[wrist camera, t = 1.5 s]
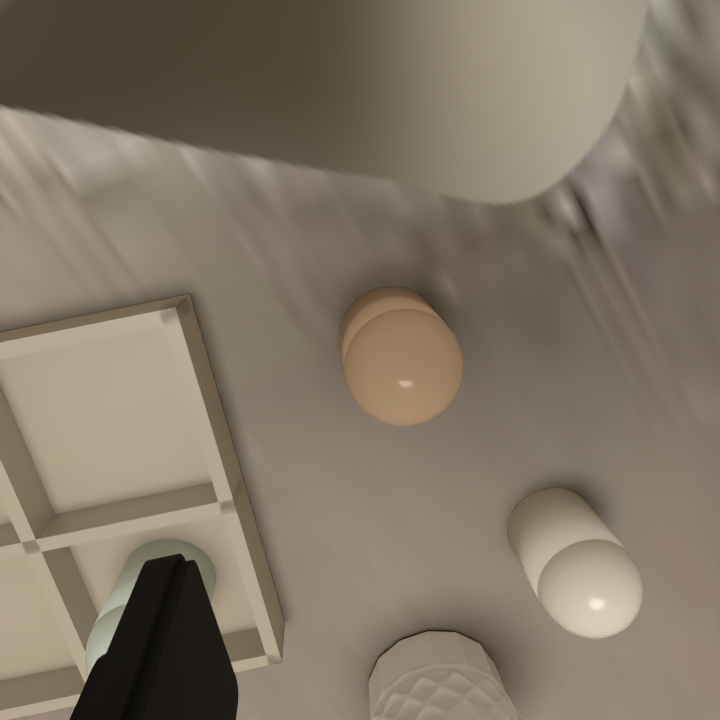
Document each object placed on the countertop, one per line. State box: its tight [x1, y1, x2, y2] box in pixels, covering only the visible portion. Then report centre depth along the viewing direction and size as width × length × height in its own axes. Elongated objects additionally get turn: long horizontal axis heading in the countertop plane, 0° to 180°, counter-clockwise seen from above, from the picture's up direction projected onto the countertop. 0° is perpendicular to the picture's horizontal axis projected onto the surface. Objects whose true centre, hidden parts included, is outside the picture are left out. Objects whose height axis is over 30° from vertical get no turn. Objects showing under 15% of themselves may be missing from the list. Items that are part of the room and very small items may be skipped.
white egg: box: [507, 488, 643, 638], centre depth 24 cm, size 4×4×6 cm
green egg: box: [85, 539, 216, 676], centre depth 23 cm, size 4×4×6 cm
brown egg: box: [340, 287, 464, 426], centre depth 21 cm, size 4×4×6 cm
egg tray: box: [0, 294, 285, 720], centre depth 24 cm, size 17×17×2 cm
